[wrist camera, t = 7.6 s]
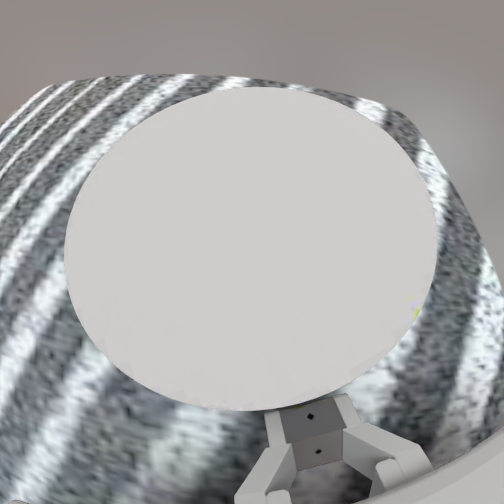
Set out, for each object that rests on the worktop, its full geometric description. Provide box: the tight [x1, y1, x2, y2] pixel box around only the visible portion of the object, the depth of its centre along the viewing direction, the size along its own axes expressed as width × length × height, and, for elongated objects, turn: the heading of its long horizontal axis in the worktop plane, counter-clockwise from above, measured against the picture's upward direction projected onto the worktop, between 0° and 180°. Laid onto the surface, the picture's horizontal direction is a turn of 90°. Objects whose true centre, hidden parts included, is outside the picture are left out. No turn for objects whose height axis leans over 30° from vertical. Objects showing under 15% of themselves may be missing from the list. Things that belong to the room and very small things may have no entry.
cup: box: [64, 87, 438, 411], centre depth 11 cm, size 8×8×12 cm
